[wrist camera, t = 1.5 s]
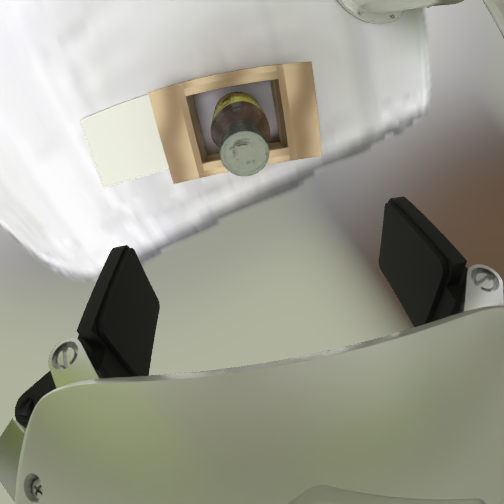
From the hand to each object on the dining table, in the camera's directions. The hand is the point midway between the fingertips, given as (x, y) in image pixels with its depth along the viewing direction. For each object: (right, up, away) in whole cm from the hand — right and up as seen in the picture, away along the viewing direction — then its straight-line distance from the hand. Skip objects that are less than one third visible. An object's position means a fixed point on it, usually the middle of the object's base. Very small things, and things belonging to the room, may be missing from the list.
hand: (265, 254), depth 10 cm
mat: (-19, +17, +28) cm, 38 cm away
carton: (-3, +20, +28) cm, 34 cm away
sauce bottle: (-3, +20, +28) cm, 34 cm away
